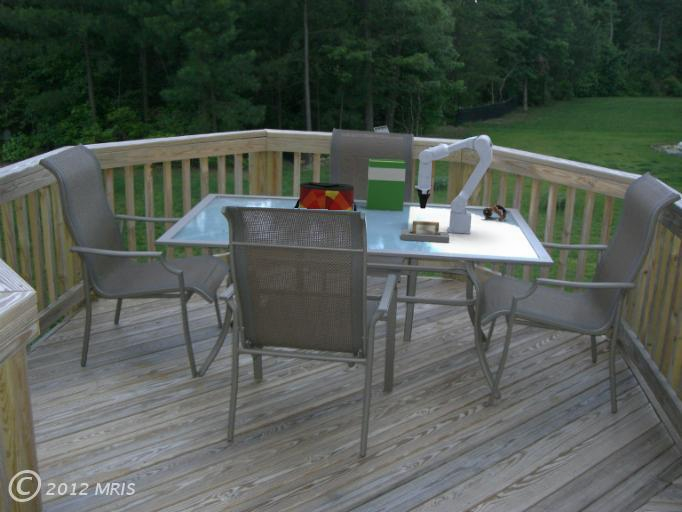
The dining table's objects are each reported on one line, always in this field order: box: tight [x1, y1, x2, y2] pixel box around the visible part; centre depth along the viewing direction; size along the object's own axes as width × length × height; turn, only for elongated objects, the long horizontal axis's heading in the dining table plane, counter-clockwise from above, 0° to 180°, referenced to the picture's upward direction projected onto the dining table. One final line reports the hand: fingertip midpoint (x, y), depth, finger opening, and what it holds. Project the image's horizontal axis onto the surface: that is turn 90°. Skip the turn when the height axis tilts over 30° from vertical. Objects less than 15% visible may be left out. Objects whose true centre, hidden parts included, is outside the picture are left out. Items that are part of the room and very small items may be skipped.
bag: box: [293, 181, 358, 211], centre depth 344 cm, size 30×14×16 cm, turn 86°
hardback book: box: [365, 158, 407, 212], centre depth 366 cm, size 18×7×24 cm, turn 90°
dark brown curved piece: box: [482, 203, 508, 222], centre depth 357 cm, size 12×10×8 cm
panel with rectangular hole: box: [400, 229, 450, 244], centre depth 317 cm, size 20×8×2 cm, turn 86°
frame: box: [411, 220, 440, 235], centre depth 316 cm, size 11×2×7 cm, turn 86°
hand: (422, 206), depth 335 cm, fingers open, 7 cm apart
